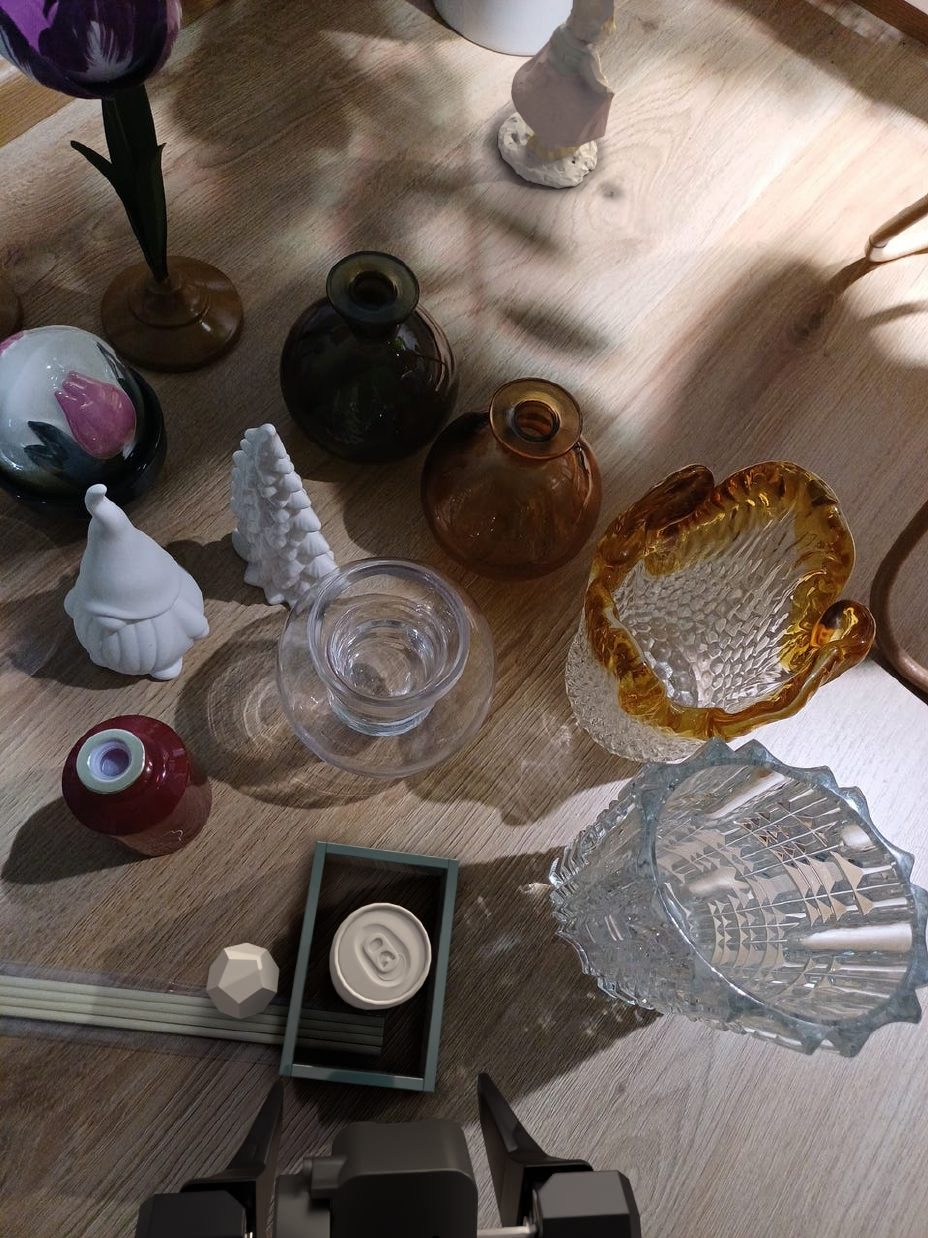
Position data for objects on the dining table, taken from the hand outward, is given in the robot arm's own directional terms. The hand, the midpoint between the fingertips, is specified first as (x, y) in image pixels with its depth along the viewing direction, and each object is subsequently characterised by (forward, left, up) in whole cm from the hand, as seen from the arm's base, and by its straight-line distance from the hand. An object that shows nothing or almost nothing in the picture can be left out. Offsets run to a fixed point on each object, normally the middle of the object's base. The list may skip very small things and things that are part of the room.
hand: (381, 1083), depth 47 cm
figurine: (+69, -6, -12) cm, 70 cm away
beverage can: (+5, +1, -12) cm, 13 cm away
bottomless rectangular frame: (+5, +1, -11) cm, 13 cm away
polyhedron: (+4, +8, -12) cm, 15 cm away
